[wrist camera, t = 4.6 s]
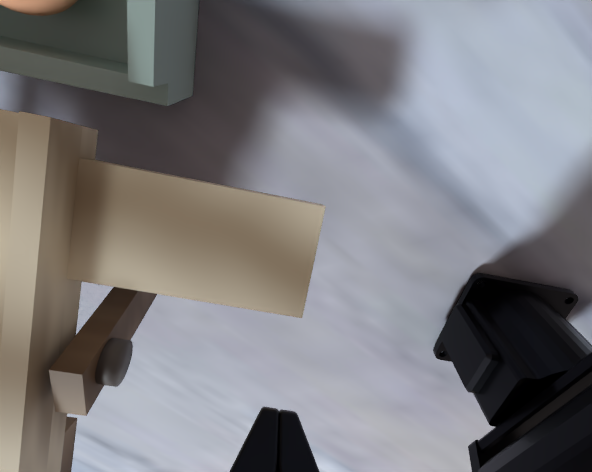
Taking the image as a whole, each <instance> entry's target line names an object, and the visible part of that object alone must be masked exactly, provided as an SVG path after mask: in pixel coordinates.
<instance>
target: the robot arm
mask: <svg viewBox="0 0 592 472" xmlns="http://www.w3.org/2000/svg"><path fill="white" fill-rule="evenodd" d="M480 281H482V282H481V283H480V284H477V283H478V282H480ZM577 301H578V296H577V295H576V294H575V293H574V292H573V291H571V290H568V289H562V288H557V287H552V286H546V285H541V284H535V283H530V282H525V281H519V280H514V279H509V278H503V277H498V276H493V275H487V274H482V273H478V274H475V275H473V276H472V277H471V278H470V280H469V282H468V284H467V285H466V287H465V289H464V291H463V293H462V295H461V297H460V299H459V301H458V303H457V305H456V306H455V307H454V309H453V311H452V313H451V315H450V316H449V318H448V320H447V322H446V324H445V326H444V328H443V330H442V332H441V334H440V337H439V339H438V341H437V343H436V345H435V347H434V349H433V352H434V354H435V356H436V358H437V359H440V360H445V361H451V362H453V364H454V366H455V368H456V370H457V372H458V374H459V376H460V378H461V380H462V382H463V384H464V386H465V388H466V390H467V391H468V392H472V393H474V395H475V397H476V399H477V401H478V403H479V405H480V407H481V409H482V411H483V413H484V415H485V417H486V419H487V421H488V423H489V424H490V425H491V426H495V428H494V429H493V430H491V431H490V432H489V433H488V434H486V435H485V436H484V437H483V438H481V439H480V440H475V441H474V442H473V443H471V444H470V445H469V446H468V449H469V455H470V461H471V467H472V472H592V345H591V344H590V343H589V342H588V341H587V340H586V339H585V338H584V337H583V336H582V335H581V334H580V333H579V332H578V331H577V330H576V329H575V328H574V327H573V326H572V325H571V324H570V323H569V322H568V321H567V320H566V319H565V318H566V317H567V316H568V314H569V313H570V311H571V310H572V309H573V307H574V306H575V304H576V303H577ZM442 351H443V352H442ZM230 472H319V469H318V467H317V464H316V462H315V459H314V456H313V454H312V451H311V449H310V446H309V443H308V441H307V438H306V435H305V433H304V430H303V428H302V425H301V422H300V420H299V417H298V415H297V413H296V412H294V411H288V410H280V411H278V409H276V408H269V407H263V408H262V409H261V410H260V412H259V414H258V416H257V418H256V420H255V422H254V424H253V426H252V428H251V430H250V432H249V434H248V436H247V438H246V440H245V442H244V444H243V446H242V448H241V450H240V452H239V454H238V456H237V458H236V460H235V462H234V464H233V466H232V468H231V470H230Z"/></svg>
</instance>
